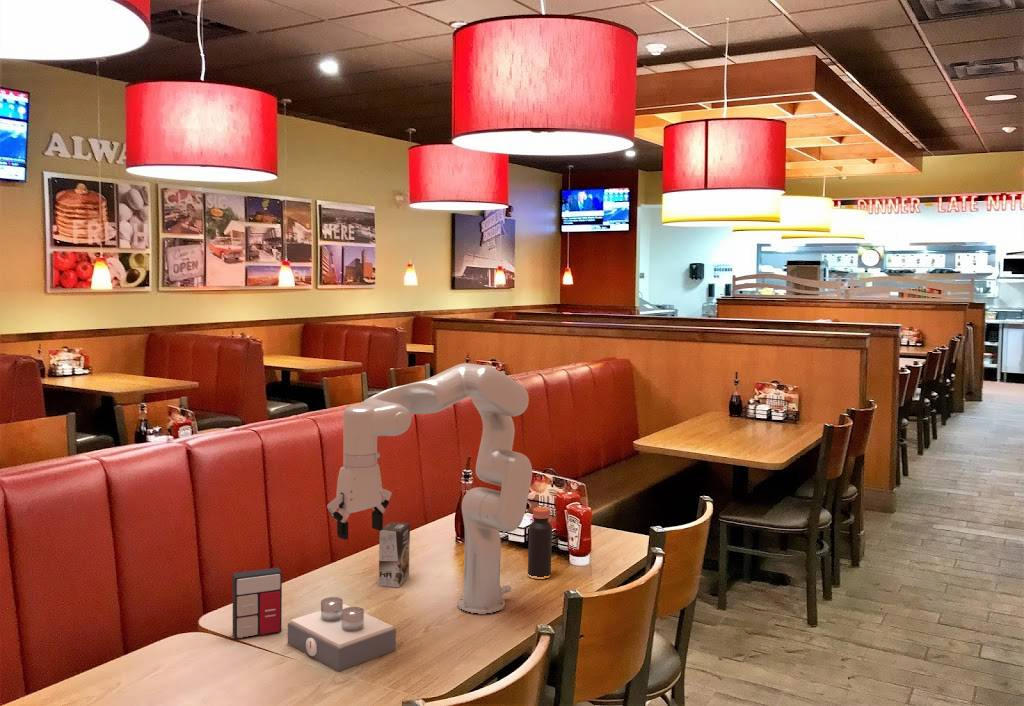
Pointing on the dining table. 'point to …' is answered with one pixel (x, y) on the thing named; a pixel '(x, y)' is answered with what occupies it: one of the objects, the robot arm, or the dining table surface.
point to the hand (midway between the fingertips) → (360, 533)
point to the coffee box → (394, 554)
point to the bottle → (540, 543)
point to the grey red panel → (257, 602)
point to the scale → (341, 640)
